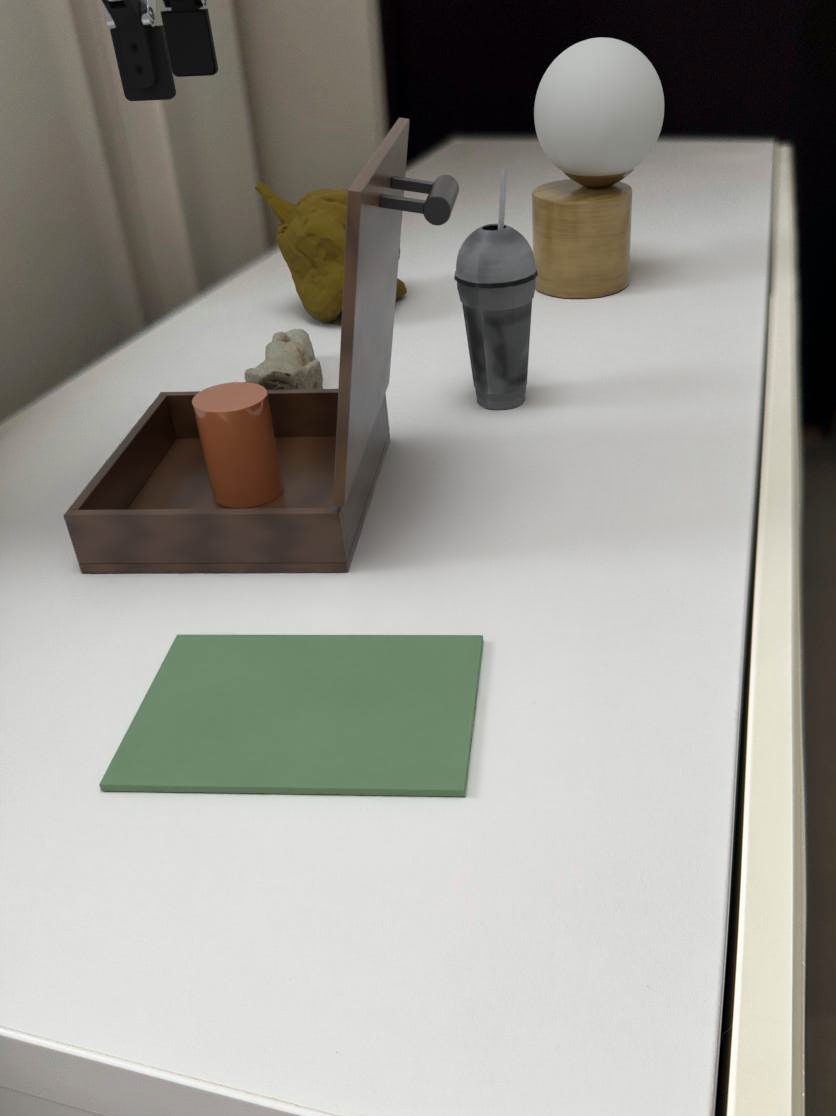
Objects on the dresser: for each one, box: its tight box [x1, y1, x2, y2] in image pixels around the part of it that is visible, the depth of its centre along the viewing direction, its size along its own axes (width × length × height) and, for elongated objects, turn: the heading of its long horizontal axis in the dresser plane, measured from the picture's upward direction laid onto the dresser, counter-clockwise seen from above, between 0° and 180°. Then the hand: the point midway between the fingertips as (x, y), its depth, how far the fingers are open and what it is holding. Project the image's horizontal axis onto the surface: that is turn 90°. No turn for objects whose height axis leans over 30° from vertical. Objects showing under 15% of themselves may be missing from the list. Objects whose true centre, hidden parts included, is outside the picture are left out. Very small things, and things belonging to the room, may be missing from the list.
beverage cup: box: [453, 166, 538, 411], centre depth 92 cm, size 7×7×20 cm
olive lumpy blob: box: [254, 180, 408, 323], centre depth 117 cm, size 14×14×14 cm
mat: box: [99, 634, 484, 797], centre depth 62 cm, size 20×14×1 cm
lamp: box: [531, 36, 665, 299], centre depth 118 cm, size 15×14×25 cm
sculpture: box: [244, 328, 324, 390], centre depth 101 cm, size 7×5×15 cm
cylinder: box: [192, 381, 284, 508], centre depth 81 cm, size 6×6×8 cm
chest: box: [63, 388, 391, 574], centre depth 83 cm, size 20×22×5 cm
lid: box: [333, 117, 460, 507], centre depth 74 cm, size 20×22×5 cm
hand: (175, 86), depth 71 cm, fingers open, 9 cm apart
